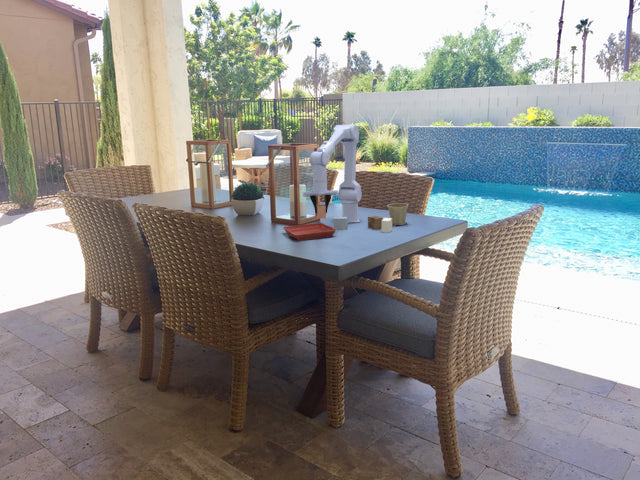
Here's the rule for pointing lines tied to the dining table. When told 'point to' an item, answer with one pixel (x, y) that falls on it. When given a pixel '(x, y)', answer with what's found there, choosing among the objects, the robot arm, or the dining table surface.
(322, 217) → the terracotta brick
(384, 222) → the cream brick
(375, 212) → the dining table surface
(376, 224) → the walnut brick
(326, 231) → the plant saucer
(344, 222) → the slate-blue brick
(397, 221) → the flower pot
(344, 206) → the robot arm
